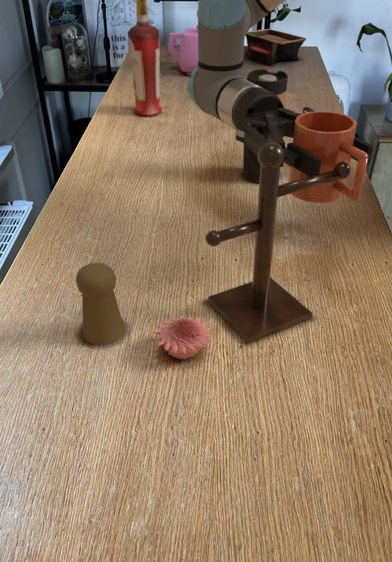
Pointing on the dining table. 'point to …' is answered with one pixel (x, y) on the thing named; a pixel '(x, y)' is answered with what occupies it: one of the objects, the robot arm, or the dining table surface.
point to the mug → (328, 154)
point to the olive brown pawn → (99, 304)
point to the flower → (183, 336)
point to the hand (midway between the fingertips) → (343, 162)
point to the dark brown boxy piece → (272, 46)
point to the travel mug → (279, 87)
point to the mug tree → (265, 256)
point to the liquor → (145, 62)
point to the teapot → (185, 49)
